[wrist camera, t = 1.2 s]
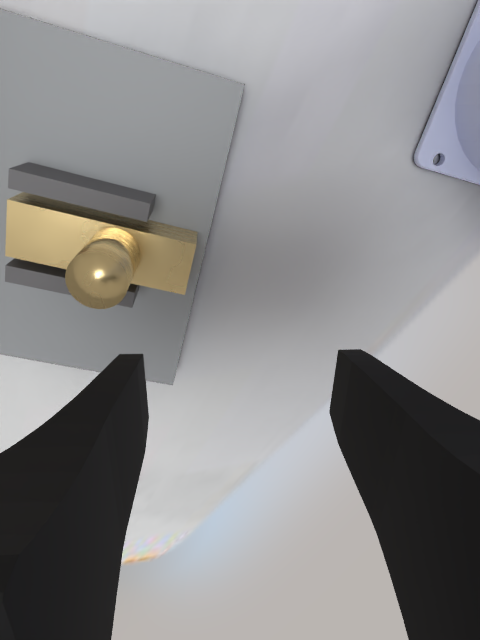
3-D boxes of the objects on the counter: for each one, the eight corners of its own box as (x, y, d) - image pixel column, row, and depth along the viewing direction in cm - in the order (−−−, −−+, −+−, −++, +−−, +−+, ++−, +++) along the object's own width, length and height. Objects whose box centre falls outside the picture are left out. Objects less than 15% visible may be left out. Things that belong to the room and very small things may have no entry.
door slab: (241, 85, 17) (249, 81, 14) (174, 369, 23) (169, 408, 20) (-50, -5, 16) (-113, -31, 13) (-44, 328, 21) (-85, 365, 18)
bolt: (197, 231, 18) (194, 271, 14) (187, 278, 19) (180, 328, 15) (26, 190, 17) (-35, 219, 13) (24, 241, 18) (-35, 285, 14)
